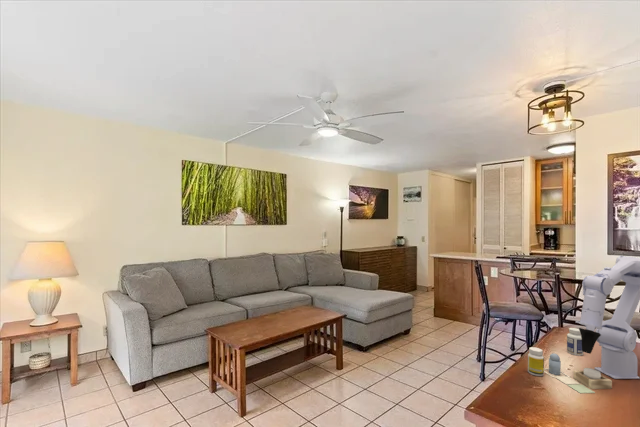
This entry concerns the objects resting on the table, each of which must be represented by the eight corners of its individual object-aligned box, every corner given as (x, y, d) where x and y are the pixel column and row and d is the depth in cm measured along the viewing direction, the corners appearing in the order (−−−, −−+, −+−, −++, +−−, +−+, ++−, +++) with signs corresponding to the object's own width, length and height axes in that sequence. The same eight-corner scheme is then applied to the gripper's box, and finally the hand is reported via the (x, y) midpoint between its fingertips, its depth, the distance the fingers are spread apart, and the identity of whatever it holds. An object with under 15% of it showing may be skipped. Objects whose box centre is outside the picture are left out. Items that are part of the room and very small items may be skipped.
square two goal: (581, 385, 109) (581, 384, 109) (595, 393, 104) (595, 392, 104) (567, 385, 109) (567, 384, 109) (580, 393, 104) (580, 392, 104)
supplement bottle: (546, 377, 114) (546, 352, 115) (531, 375, 115) (531, 351, 116) (540, 371, 119) (540, 347, 119) (525, 369, 120) (525, 346, 120)
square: (568, 377, 115) (568, 376, 115) (580, 384, 110) (580, 383, 110) (554, 377, 115) (554, 376, 115) (566, 384, 110) (566, 383, 110)
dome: (592, 376, 113) (592, 368, 113) (604, 382, 109) (604, 374, 109) (580, 376, 113) (580, 368, 113) (591, 382, 108) (591, 374, 108)
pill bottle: (582, 352, 137) (582, 328, 137) (584, 357, 133) (584, 332, 133) (566, 349, 140) (566, 326, 140) (567, 353, 135) (567, 329, 136)
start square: (556, 368, 121) (556, 368, 121) (570, 377, 115) (570, 376, 115) (539, 369, 121) (539, 368, 121) (552, 377, 114) (552, 376, 114)
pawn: (555, 370, 120) (555, 351, 120) (562, 375, 116) (563, 355, 116) (546, 371, 119) (546, 351, 119) (553, 375, 116) (553, 355, 116)
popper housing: (592, 378, 114) (592, 370, 115) (611, 388, 108) (611, 380, 108) (573, 378, 114) (573, 370, 114) (591, 388, 107) (591, 380, 107)
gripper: (578, 308, 121) (571, 346, 119) (577, 306, 110) (570, 348, 108) (603, 314, 117) (597, 354, 115) (605, 313, 105) (599, 357, 104)
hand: (586, 351), depth 111 cm, fingers open, 7 cm apart
